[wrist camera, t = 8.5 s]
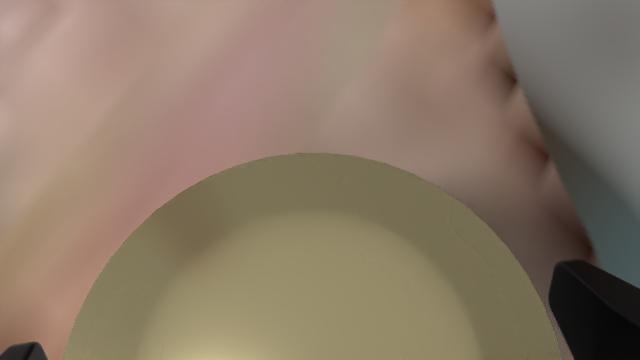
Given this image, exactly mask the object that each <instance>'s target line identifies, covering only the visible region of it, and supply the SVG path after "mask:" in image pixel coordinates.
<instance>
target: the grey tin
mask: <svg viewBox="0 0 640 360" xmlns="http://www.w3.org/2000/svg"><path fill="white" fill-rule="evenodd" d="M63 360H562V356H561V352H560V348H559V345H558V341H557V337H556V334H555V332H554V329H553V327H552V324H551V322H550V319H549V317H548V314H547V312H546V309H545V307H544V304H543V303H542V301H541V299H540V297H539V295H538V293H537V291H536V290H535V288H534V286H533V284H532V282H531V280H530V278H529V276H528V275H527V274H526V272H525V271H524V269H523V268H522V266H521V265H520V264H519V262H518V261H517V259H516V258H515V256H514V255H513V254H512V252H511V251H510V249H509V248H508V247H507V246H506V245H505V244H504V243H503V241H502V240H501V239H500V238H499V237H498V236H497V235H496V234H495V233H494V231H493V230H492V229H491V228H490V227H489V226H488V225H487V224H486V223H485V222H484V221H482V220H481V219H480V218H479V217H478V216H477V215H476V214H475V213H473V212H472V211H471V210H470V209H469V208H468V207H467V206H465V205H464V204H463V203H461V202H460V201H458V200H457V199H455V198H454V197H452V196H451V195H450V194H448V193H447V192H445V191H444V190H442V189H441V188H439V187H437V186H435V185H434V184H432V183H430V182H428V181H426V180H424V179H422V178H420V177H418V176H416V175H414V174H412V173H410V172H407V171H404V170H402V169H399V168H396V167H394V166H391V165H388V164H386V163H382V162H378V161H374V160H369V159H365V158H361V157H357V156H349V155H340V154H331V153H295V154H288V155H280V156H273V157H266V158H263V159H259V160H255V161H251V162H248V163H244V164H240V165H237V166H234V167H232V168H229V169H227V170H224V171H222V172H219V173H217V174H214V175H212V176H209V177H208V178H206V179H204V180H202V181H200V182H199V183H197V184H195V185H193V186H191V187H190V188H188V189H186V190H184V191H182V192H181V193H179V194H178V195H177V196H175V197H174V198H173V199H171V200H170V201H168V202H167V203H166V204H164V205H163V206H162V207H160V208H159V209H157V210H156V211H155V212H154V213H153V214H152V215H151V216H150V217H149V218H147V219H146V220H145V221H144V222H143V223H142V224H141V225H140V226H139V227H138V228H137V229H136V230H135V231H133V232H132V234H131V235H130V236H129V237H128V238H127V239H126V241H125V242H124V243H123V244H122V245H121V247H120V248H119V249H118V250H117V251H116V252H115V254H114V255H113V256H112V257H111V258H110V260H109V262H108V263H107V265H106V266H105V268H104V269H103V271H102V272H101V274H100V275H99V277H98V278H97V280H96V281H95V283H94V284H93V286H92V288H91V290H90V292H89V294H88V296H87V298H86V300H85V302H84V304H83V306H82V308H81V310H80V312H79V314H78V316H77V318H76V321H75V323H74V326H73V329H72V332H71V335H70V337H69V340H68V343H67V346H66V349H65V352H64V356H63Z"/></svg>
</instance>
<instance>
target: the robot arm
mask: <svg viewBox="0 0 640 360" xmlns="http://www.w3.org/2000/svg"><path fill="white" fill-rule="evenodd" d="M548 300H549V305H550V308H551V311H552V313H553V315H554V317H555V319H556V321H557V323H558V326H559V328H560V330H561V332H562V334H563V336H564V338H565V341H566V343H567V345H568V347H569V349H570V351H571V353H572V355H573V358H574V360H640V289H639V288H637V287H635V286H633V285H631V284H629V283H627V282H625V281H623V280H621V279H619V278H617V277H615V276H613V275H612V274H610V273H608V272H606V271H604V270H602V269H600V268H598V267H596V266H594V265H592V264H590V263H588V262H586V261H584V260H581V259H571V260H564V261H560V262H557V263H556V265H555V267H554V270H553V275H552V280H551V284H550V289H549V294H548ZM0 360H48V358H47V356H46V354H45V352H44V350H43V348H42V346H41V345H40V344H39V343H38V342H27V343H21V344H15V345H12V346H10V347H9V348H7V349H6V350H5V351H4V352H3V353H2V354H1V355H0Z"/></svg>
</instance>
